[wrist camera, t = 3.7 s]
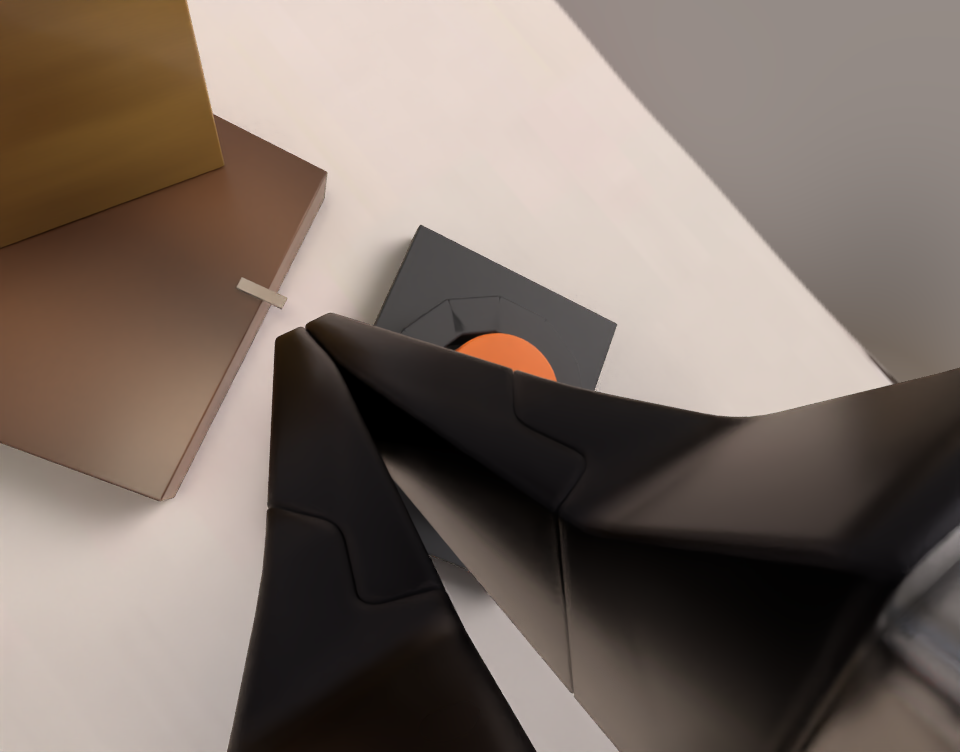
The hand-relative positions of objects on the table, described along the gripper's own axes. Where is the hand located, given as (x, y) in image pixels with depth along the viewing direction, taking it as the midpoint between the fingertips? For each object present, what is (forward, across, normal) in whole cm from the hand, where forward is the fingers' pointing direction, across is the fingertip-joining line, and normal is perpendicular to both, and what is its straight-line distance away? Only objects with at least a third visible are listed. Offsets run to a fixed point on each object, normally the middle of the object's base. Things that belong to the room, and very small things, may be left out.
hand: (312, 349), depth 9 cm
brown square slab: (+14, +3, +3) cm, 15 cm away
